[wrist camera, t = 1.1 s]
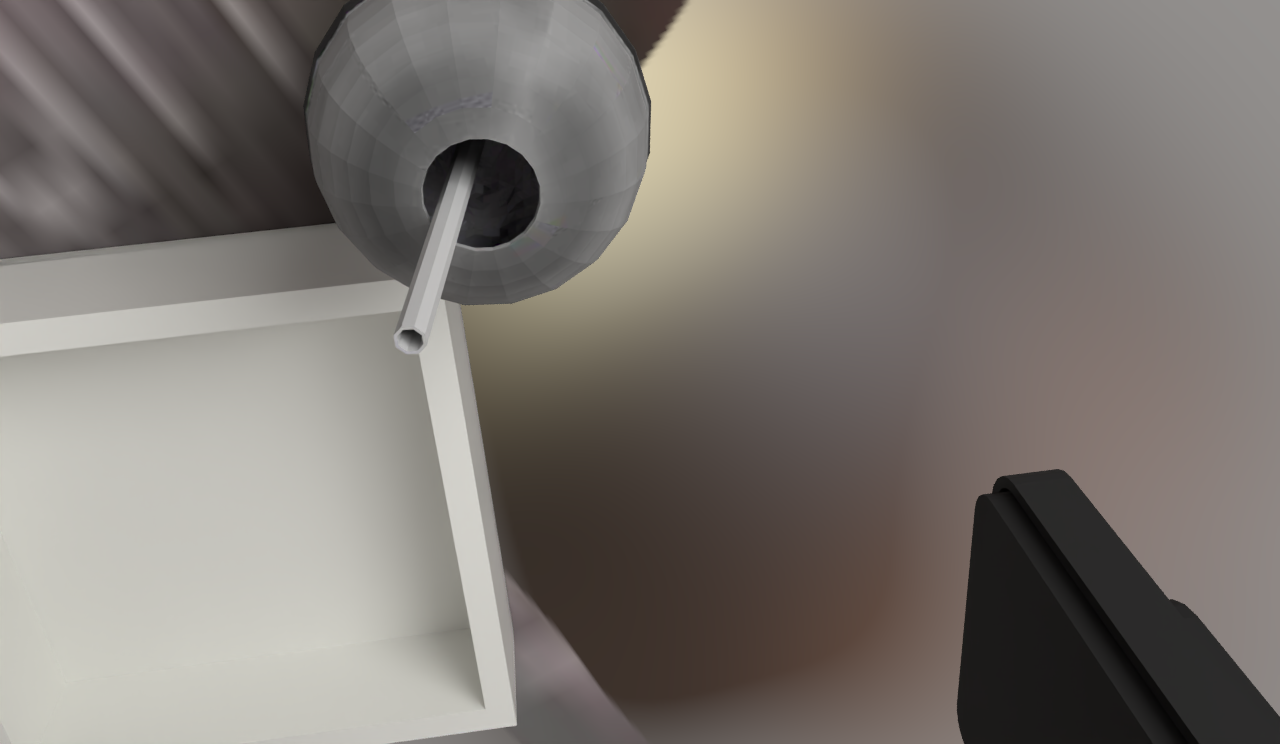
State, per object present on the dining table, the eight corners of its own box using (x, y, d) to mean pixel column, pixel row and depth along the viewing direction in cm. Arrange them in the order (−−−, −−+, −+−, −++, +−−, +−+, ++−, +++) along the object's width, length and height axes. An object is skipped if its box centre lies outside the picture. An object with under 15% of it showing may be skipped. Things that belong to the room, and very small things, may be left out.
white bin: (-134, 273, 36) (-220, 348, 31) (445, 211, 37) (440, 274, 32) (52, 693, 44) (6, 797, 40) (513, 631, 46) (516, 725, 41)
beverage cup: (643, 67, 35) (799, 385, 18) (438, 174, 36) (398, 576, 19) (530, -165, 32) (588, -48, 14) (306, -41, 33) (108, 211, 15)
